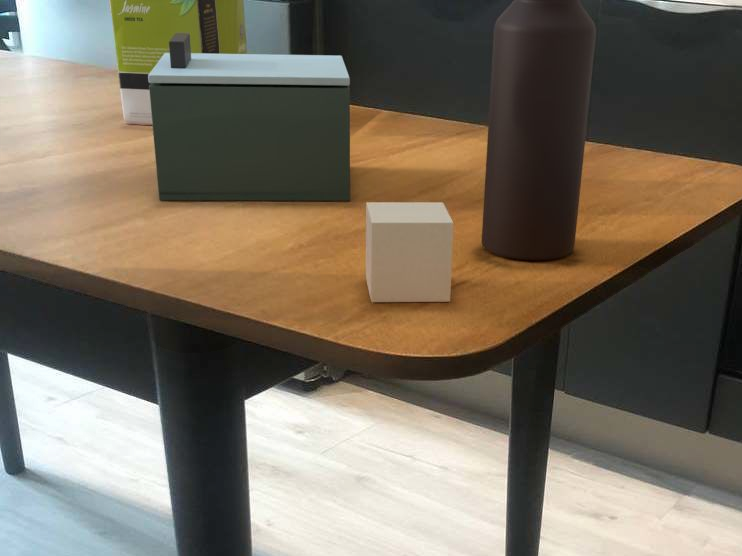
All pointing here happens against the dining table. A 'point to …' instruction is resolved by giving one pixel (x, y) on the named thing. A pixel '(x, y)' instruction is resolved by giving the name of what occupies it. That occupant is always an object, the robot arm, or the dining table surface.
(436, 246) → the block
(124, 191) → the dining table surface
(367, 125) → the dining table surface
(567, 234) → the bottle
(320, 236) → the dining table surface
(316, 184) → the open storage box
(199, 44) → the tea box
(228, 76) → the sliding lid with knob
